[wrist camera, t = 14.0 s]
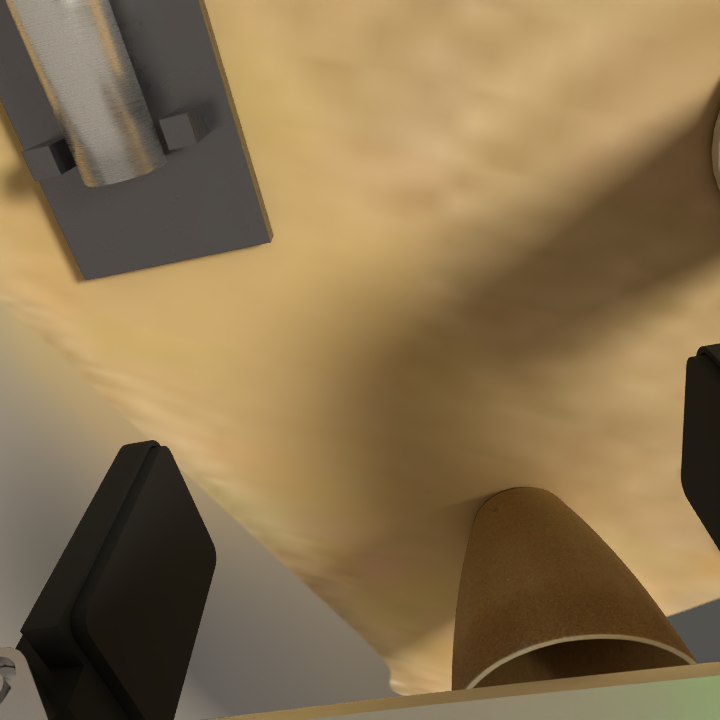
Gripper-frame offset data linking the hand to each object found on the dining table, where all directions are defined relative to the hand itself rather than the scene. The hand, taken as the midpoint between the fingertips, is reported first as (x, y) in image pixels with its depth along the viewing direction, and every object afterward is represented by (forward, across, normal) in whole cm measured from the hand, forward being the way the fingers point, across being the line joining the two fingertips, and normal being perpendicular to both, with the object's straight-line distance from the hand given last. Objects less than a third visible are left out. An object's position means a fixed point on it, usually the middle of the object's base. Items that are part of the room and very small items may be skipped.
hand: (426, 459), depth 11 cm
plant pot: (+28, -5, +31) cm, 42 cm away
